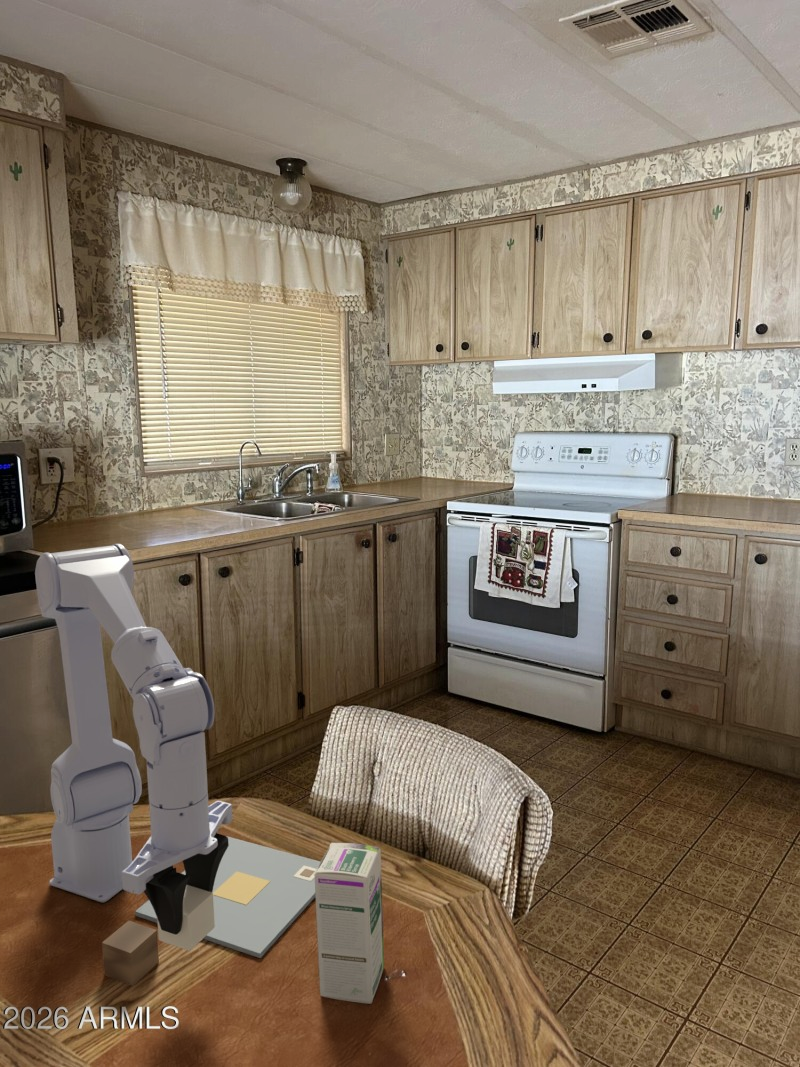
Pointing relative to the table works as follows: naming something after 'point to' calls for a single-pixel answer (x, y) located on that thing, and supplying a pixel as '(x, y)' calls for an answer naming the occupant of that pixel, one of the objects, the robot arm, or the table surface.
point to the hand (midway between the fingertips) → (185, 916)
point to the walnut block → (130, 952)
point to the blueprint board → (255, 896)
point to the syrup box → (350, 922)
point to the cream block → (192, 919)
